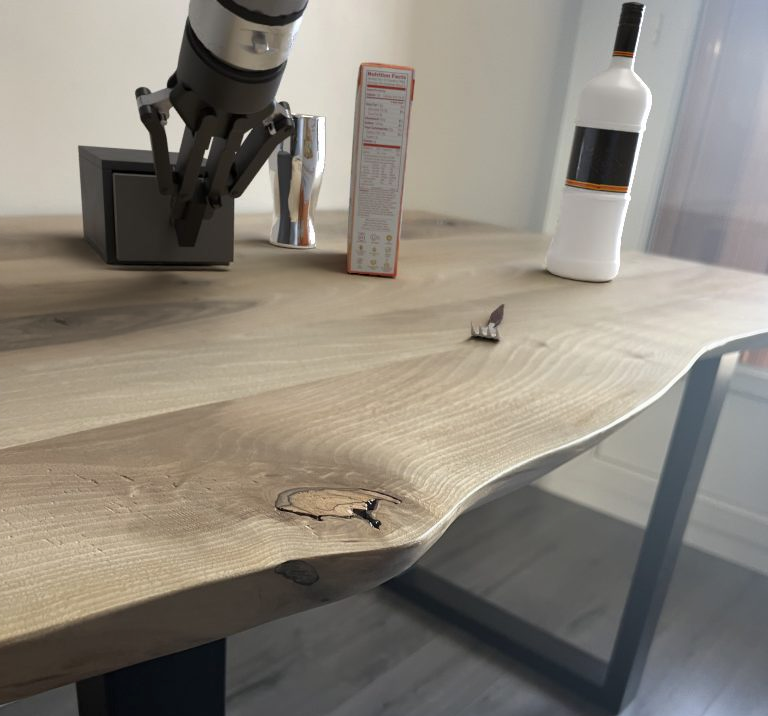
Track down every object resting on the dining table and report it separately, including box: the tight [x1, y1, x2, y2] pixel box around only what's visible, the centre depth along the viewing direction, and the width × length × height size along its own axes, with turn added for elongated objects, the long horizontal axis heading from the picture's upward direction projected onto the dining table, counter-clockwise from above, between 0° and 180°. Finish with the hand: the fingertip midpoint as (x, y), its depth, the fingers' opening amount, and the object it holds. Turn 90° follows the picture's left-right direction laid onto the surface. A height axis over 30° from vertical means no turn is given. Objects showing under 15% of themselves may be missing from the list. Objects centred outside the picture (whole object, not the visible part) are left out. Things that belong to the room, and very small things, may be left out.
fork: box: [470, 303, 506, 340], centre depth 74 cm, size 3×16×2 cm, turn 166°
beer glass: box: [267, 112, 327, 250], centre depth 101 cm, size 7×7×15 cm
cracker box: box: [346, 61, 416, 278], centre depth 92 cm, size 14×6×21 cm, turn 2°
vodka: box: [544, 1, 652, 283], centre depth 98 cm, size 9×9×30 cm
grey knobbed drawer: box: [111, 170, 236, 263], centre depth 85 cm, size 15×12×8 cm
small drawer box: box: [77, 144, 231, 266], centre depth 89 cm, size 15×13×10 cm
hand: (184, 234), depth 79 cm, fingers closed
